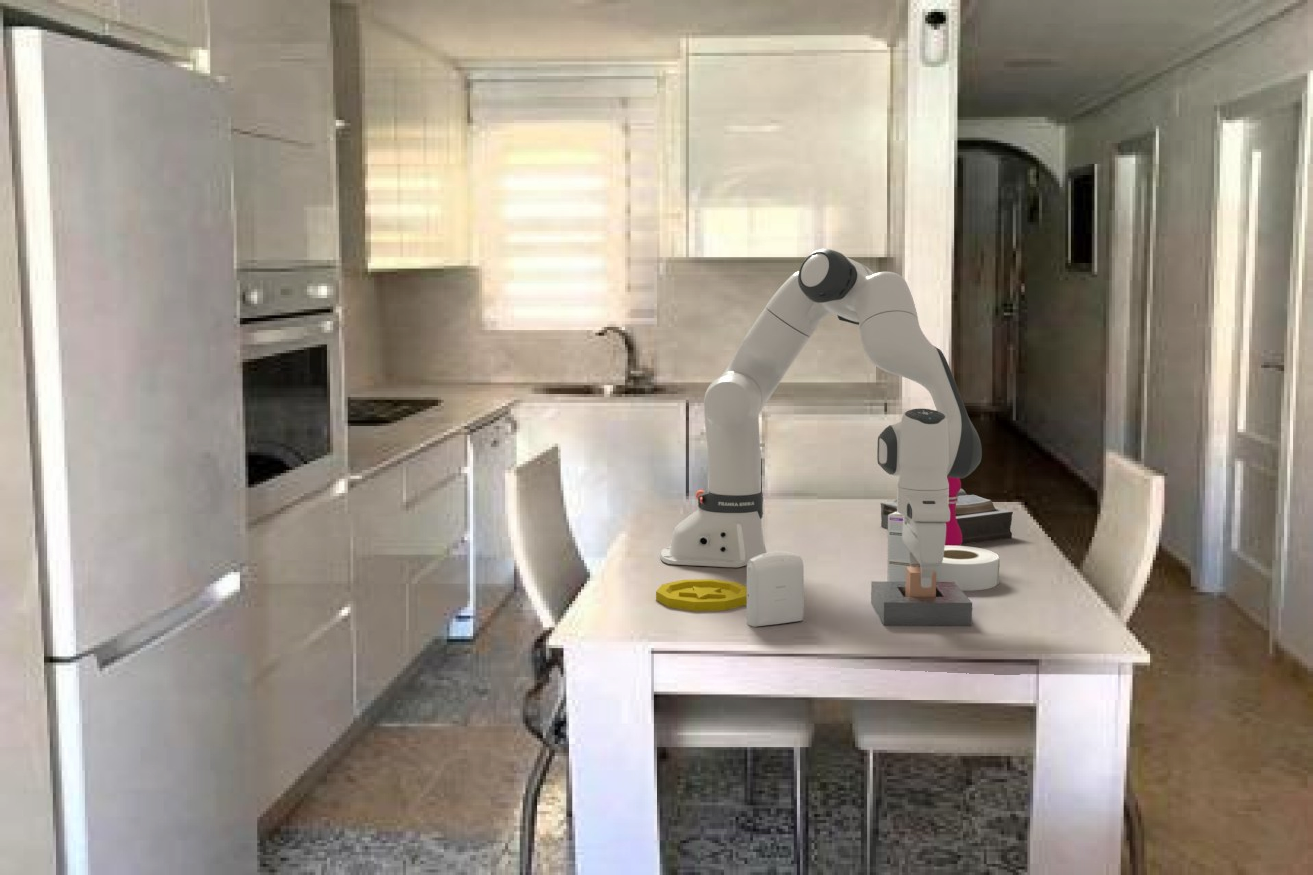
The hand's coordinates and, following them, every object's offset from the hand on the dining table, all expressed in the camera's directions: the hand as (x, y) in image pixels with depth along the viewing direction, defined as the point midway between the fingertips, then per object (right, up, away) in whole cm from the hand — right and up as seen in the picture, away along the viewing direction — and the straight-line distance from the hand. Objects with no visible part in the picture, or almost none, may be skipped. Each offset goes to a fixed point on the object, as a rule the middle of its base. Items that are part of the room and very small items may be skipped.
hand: (920, 580), depth 233 cm
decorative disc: (-38, -5, +11) cm, 40 cm away
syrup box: (+1, -4, +21) cm, 21 cm away
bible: (+20, +3, +72) cm, 75 cm away
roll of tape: (+12, -3, +26) cm, 29 cm away
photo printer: (-26, -7, -5) cm, 27 cm away
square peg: (0, -6, +1) cm, 6 cm away
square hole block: (0, -6, +1) cm, 6 cm away
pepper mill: (+14, -1, +44) cm, 46 cm away
